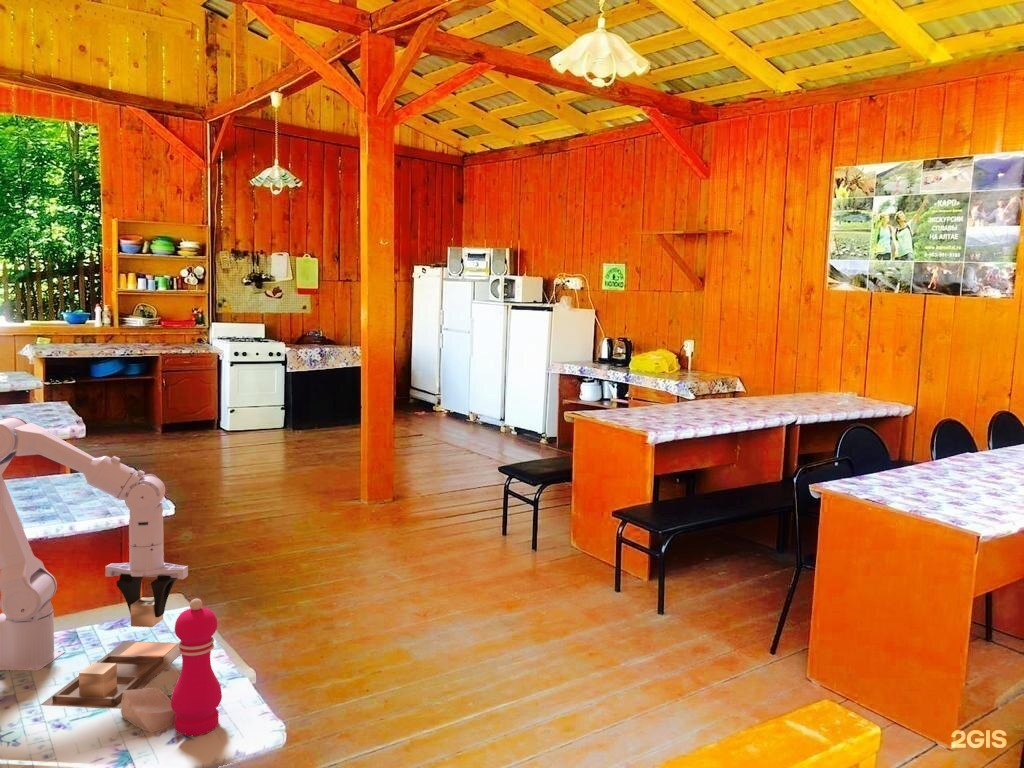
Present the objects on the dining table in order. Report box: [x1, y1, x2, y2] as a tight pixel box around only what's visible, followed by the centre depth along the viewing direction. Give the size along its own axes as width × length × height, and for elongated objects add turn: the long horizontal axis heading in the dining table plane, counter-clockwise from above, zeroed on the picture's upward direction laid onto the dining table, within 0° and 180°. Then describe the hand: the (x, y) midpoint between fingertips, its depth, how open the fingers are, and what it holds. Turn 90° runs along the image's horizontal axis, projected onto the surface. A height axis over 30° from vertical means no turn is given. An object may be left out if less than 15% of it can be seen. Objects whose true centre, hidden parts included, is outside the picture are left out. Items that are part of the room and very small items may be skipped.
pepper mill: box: [170, 598, 223, 737], centre depth 118 cm, size 7×7×20 cm
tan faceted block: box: [120, 687, 177, 733], centre depth 120 cm, size 10×6×6 cm, turn 40°
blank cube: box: [78, 661, 117, 697], centre depth 127 cm, size 4×4×4 cm
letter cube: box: [130, 596, 164, 628], centre depth 143 cm, size 4×4×4 cm
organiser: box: [40, 640, 181, 710], centre depth 135 cm, size 13×25×2 cm, turn 178°
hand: (147, 614), depth 143 cm, fingers closed on letter cube, 4 cm apart
